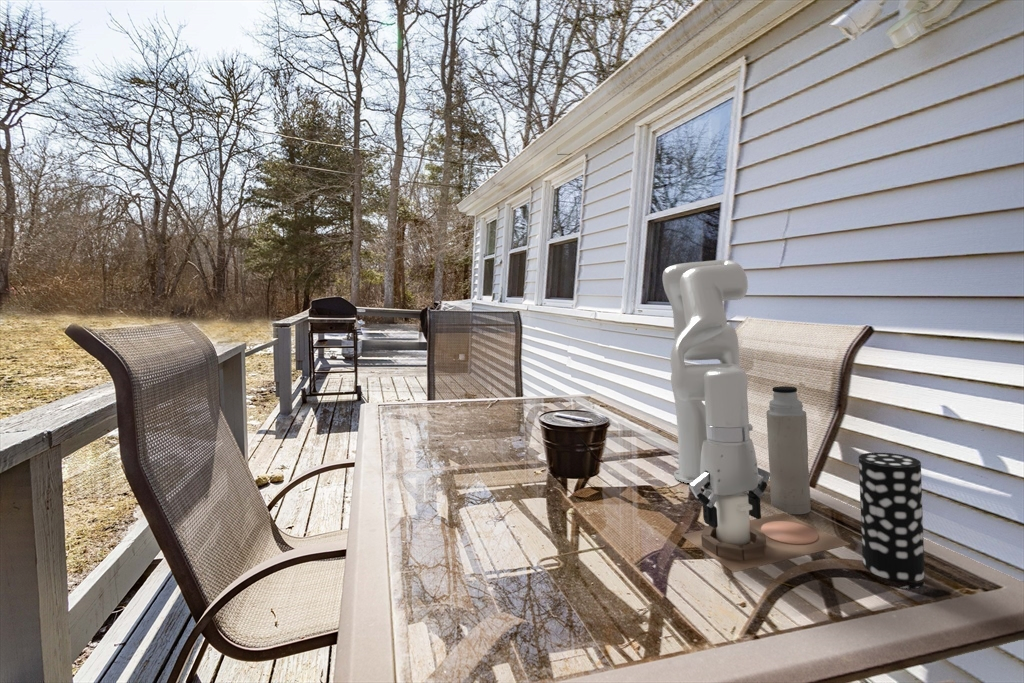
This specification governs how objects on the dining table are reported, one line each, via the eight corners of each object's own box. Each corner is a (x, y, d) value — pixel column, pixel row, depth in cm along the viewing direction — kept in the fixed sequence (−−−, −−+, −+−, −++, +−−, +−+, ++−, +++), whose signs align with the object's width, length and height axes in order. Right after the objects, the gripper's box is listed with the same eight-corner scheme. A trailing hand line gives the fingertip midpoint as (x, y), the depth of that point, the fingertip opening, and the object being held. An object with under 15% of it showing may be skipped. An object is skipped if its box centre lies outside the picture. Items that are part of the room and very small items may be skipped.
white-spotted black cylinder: (911, 565, 86) (908, 453, 85) (934, 591, 79) (930, 468, 78) (856, 560, 89) (851, 452, 88) (872, 585, 81) (868, 466, 80)
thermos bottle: (803, 500, 117) (797, 383, 115) (816, 514, 109) (810, 389, 108) (766, 500, 118) (760, 385, 117) (777, 514, 111) (771, 390, 109)
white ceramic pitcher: (763, 552, 92) (760, 499, 92) (735, 558, 91) (733, 505, 90) (724, 529, 103) (721, 482, 102) (699, 534, 101) (696, 486, 101)
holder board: (680, 540, 102) (679, 525, 102) (784, 518, 108) (783, 503, 108) (733, 578, 86) (732, 560, 86) (851, 550, 93) (850, 533, 93)
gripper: (751, 424, 100) (756, 506, 101) (676, 435, 96) (681, 521, 97) (780, 431, 93) (784, 520, 94) (700, 443, 89) (706, 536, 90)
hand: (732, 520), depth 95 cm, fingers open, 9 cm apart
